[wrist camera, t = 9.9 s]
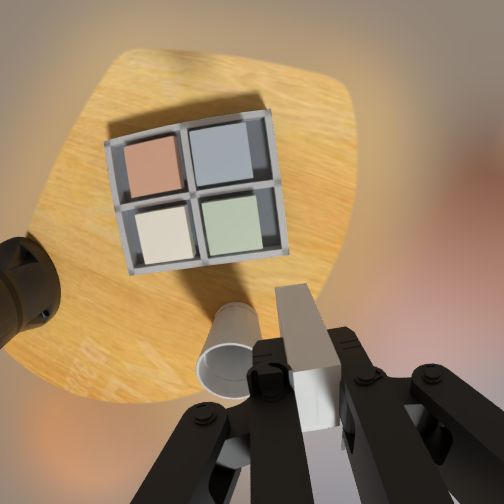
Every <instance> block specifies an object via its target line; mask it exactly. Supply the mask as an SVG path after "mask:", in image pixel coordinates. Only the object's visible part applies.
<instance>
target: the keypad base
mask: <svg viewBox="0 0 504 504" xmlns="http://www.w3.org/2000/svg"><path fill="white" fill-rule="evenodd" d="M245 122H246V129H247V136H248V143H249V150H250V157H251V164H252V171H253V178H249V179H242V180H235V181H228V182H222V183H215V184H209V185H203V186H197V182H196V175H195V169H194V162H193V155H192V148H191V141H190V134H189V132H190V131H195V130H200V129H206V128H212V127H218V126H224V125H231V124H238V123H245ZM170 136H175V137H177V140H178V147H179V154H180V160H181V167H182V173H183V180H184V186H185V187H184V188H182V189H177V190H171V191H166V192H160V193H155V194H150V195H145V196H139V197H134V198H132V197H131V192H130V186H129V180H128V174H127V167H126V161H125V154H124V147H126V146H130V145H134V144H139V143H143V142H147V141H152V140H156V139H161V138H165V137H170ZM104 146H105V153H106V160H107V167H108V173H109V180H110V186H111V192H112V197H113V203H114V208H115V213H116V218H117V223H118V228H119V233H120V237H121V242H122V246H123V251H124V255H125V259H126V263H127V268H128V272H129V276H131V275H138V274H146V273H154V272H162V271H170V270H178V269H185V268H193V267H201V266H209V265H216V264H224V263H232V262H239V261H247V260H254V259H262V258H269V257H277V256H284V255H290V254H289V245H288V236H287V227H286V219H285V210H284V202H283V194H282V186H281V178H280V171H279V163H278V156H277V148H276V141H275V134H274V127H273V120H272V114H271V109H265V110H257V111H249V112H241V113H234V114H228V115H221V116H215V117H209V118H204V119H198V120H193V121H187V122H182V123H177V124H173V125H168V126H163V127H159V128H154V129H150V130H146V131H142V132H137V133H133V134H130V135H126V136H122V137H118V138H114V139H111V140H107V141H104ZM252 194H256V200H257V208H258V215H259V222H260V230H261V237H262V245H263V249H257V250H249V251H242V252H234V253H227V254H219V255H212V256H210V250H209V245H208V239H207V233H206V227H205V222H204V216H203V210H202V203H203V202H204V201H210V200H217V199H224V198H230V197H237V196H244V195H252ZM185 204H188V210H189V216H190V222H191V227H192V233H193V238H194V244H195V249H196V254H195V256H194V258H190V259H182V260H175V261H167V262H160V263H153V264H145V261H144V257H143V252H142V248H141V243H140V238H139V234H138V229H137V224H136V219H135V215H136V214H138V213H140V212H145V211H150V210H156V209H162V208H167V207H173V206H179V205H185Z"/></svg>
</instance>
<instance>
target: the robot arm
mask: <svg viewBox="0 0 504 504" xmlns="http://www.w3.org/2000/svg"><path fill="white" fill-rule="evenodd" d="M275 294H276V302H277V311H278V319H279V328H280V336H281V338H273V339H266V340H257V342H256V343H255V345H254V346H253V348H252V364H253V365H252V367H251V368H250V369H249V370H248V372H247V375H246V378H247V383H248V389H249V394H250V397H249V398H248V399H247V400H246V401H244V402H243V403H241V404H239V405H237V406H234V407H230V408H227V409H225V408H224V407H223V406H222V405H220V404H218V403H214V402H202V403H199V404H196V405H194V406H192V407H190V408H188V410H187V411H186V412H185V413H184V414H183V416H182V418H181V419H180V421H179V423H178V425H177V426H176V428H175V430H174V431H173V433H172V435H171V436H170V438H169V440H168V442H167V443H166V445H165V446H164V448H163V450H162V451H161V453H160V455H159V457H158V458H157V460H156V462H155V463H154V465H153V466H152V468H151V470H150V471H149V473H148V475H147V476H146V478H145V480H144V481H143V483H142V485H141V486H140V488H139V489H138V491H137V493H136V494H135V496H134V498H133V499H132V501H131V503H130V504H229V503H230V500H231V497H232V494H233V492H234V489H235V486H236V483H237V481H238V478H239V475H240V472H241V468H242V467H243V466H246V465H249V464H250V466H251V467H250V470H251V473H250V474H251V476H250V477H251V504H314V499H313V493H312V487H311V481H310V475H309V470H308V464H307V458H306V452H305V446H304V441H303V435H302V432H307V431H313V430H319V429H324V428H330V427H335V426H339V425H340V418H341V421H342V425H343V432H342V450H344V449H345V447H346V450H347V454H348V457H349V460H350V464H351V468H352V471H353V475H354V478H355V482H356V485H357V489H358V492H359V496H360V500H361V504H454V502H453V500H452V498H451V495H450V494H449V492H450V493H451V494H452V495H453V496H454V497H455V498H456V500H457V501H458V502H459V503H460V504H504V411H502V410H501V409H500V408H499V407H497V406H496V405H495V404H493V403H492V402H491V401H490V400H488V399H487V398H486V397H484V396H483V395H482V394H480V393H479V392H478V391H476V390H475V389H474V388H473V387H471V386H470V385H469V384H467V383H466V382H464V381H463V380H462V379H460V378H459V377H458V376H456V375H455V374H454V373H453V372H451V371H450V370H449V369H447V368H445V367H443V366H442V365H438V364H424V365H422V366H419V367H417V368H416V369H415V370H414V371H413V373H412V377H409V378H392V377H388V376H387V375H386V373H385V372H384V371H383V370H382V369H380V368H377V367H374V366H373V365H372V363H371V361H370V359H369V357H368V356H367V354H366V352H365V350H364V348H363V347H362V345H361V343H360V341H358V338H357V336H356V334H355V332H354V331H352V330H350V329H349V328H347V327H340V328H334V329H328V330H326V327H325V325H324V323H323V320H322V318H321V316H320V313H319V311H318V309H317V306H316V304H315V302H314V300H313V297H312V295H311V293H310V290H309V288H308V286H307V284H306V283H304V284H297V285H290V286H283V287H275ZM60 298H61V290H60V283H59V279H58V275H57V272H56V270H55V268H54V265H53V263H52V262H51V260H50V258H49V257H48V255H47V254H46V253H45V251H44V250H43V249H42V248H41V247H40V246H39V245H38V244H36V243H35V242H33V241H32V240H30V239H27V238H24V237H14V238H11V239H9V240H6V241H4V242H2V243H1V244H0V349H1V348H2V347H3V346H4V345H6V344H7V343H8V342H9V341H10V340H11V339H12V338H13V337H14V336H15V335H16V334H18V333H19V332H23V331H26V330H30V329H34V328H38V327H40V326H43V325H44V324H46V323H47V322H48V321H49V320H50V319H51V318H52V317H53V316H54V315H55V314H56V312H57V310H58V308H59V305H60Z"/></svg>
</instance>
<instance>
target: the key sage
mask: <svg viewBox="0 0 504 504" xmlns="http://www.w3.org/2000/svg"><path fill="white" fill-rule="evenodd" d="M202 210H203V216H204V222H205V227H206V233H207V239H208V245H209V250H210V256H212V255H219V254H227V253H234V252H242V251H249V250H257V249H263V245H262V237H261V230H260V222H259V215H258V208H257V200H256V194H252V195H244V196H237V197H230V198H224V199H217V200H210V201H204V202H203V203H202Z"/></svg>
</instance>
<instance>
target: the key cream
mask: <svg viewBox="0 0 504 504" xmlns="http://www.w3.org/2000/svg"><path fill="white" fill-rule="evenodd" d="M135 219H136V224H137V229H138V234H139V238H140V243H141V248H142V252H143V257H144V261H145V264H153V263H160V262H167V261H175V260H182V259H190V258H194V256H195V254H196V249H195V244H194V238H193V233H192V227H191V222H190V216H189V210H188V204H185V205H179V206H173V207H167V208H162V209H156V210H150V211H145V212H140V213H138V214H136V215H135Z"/></svg>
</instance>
